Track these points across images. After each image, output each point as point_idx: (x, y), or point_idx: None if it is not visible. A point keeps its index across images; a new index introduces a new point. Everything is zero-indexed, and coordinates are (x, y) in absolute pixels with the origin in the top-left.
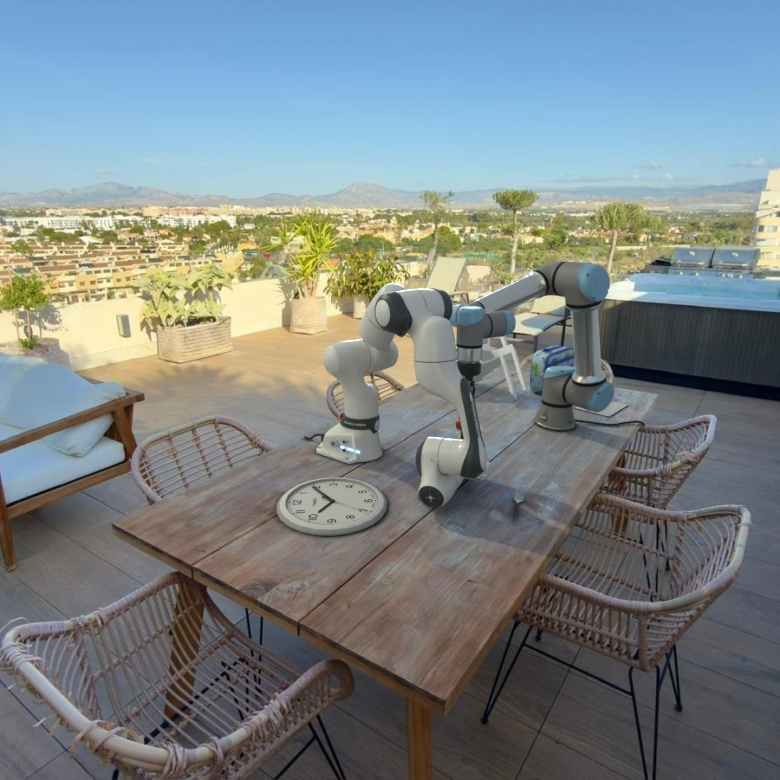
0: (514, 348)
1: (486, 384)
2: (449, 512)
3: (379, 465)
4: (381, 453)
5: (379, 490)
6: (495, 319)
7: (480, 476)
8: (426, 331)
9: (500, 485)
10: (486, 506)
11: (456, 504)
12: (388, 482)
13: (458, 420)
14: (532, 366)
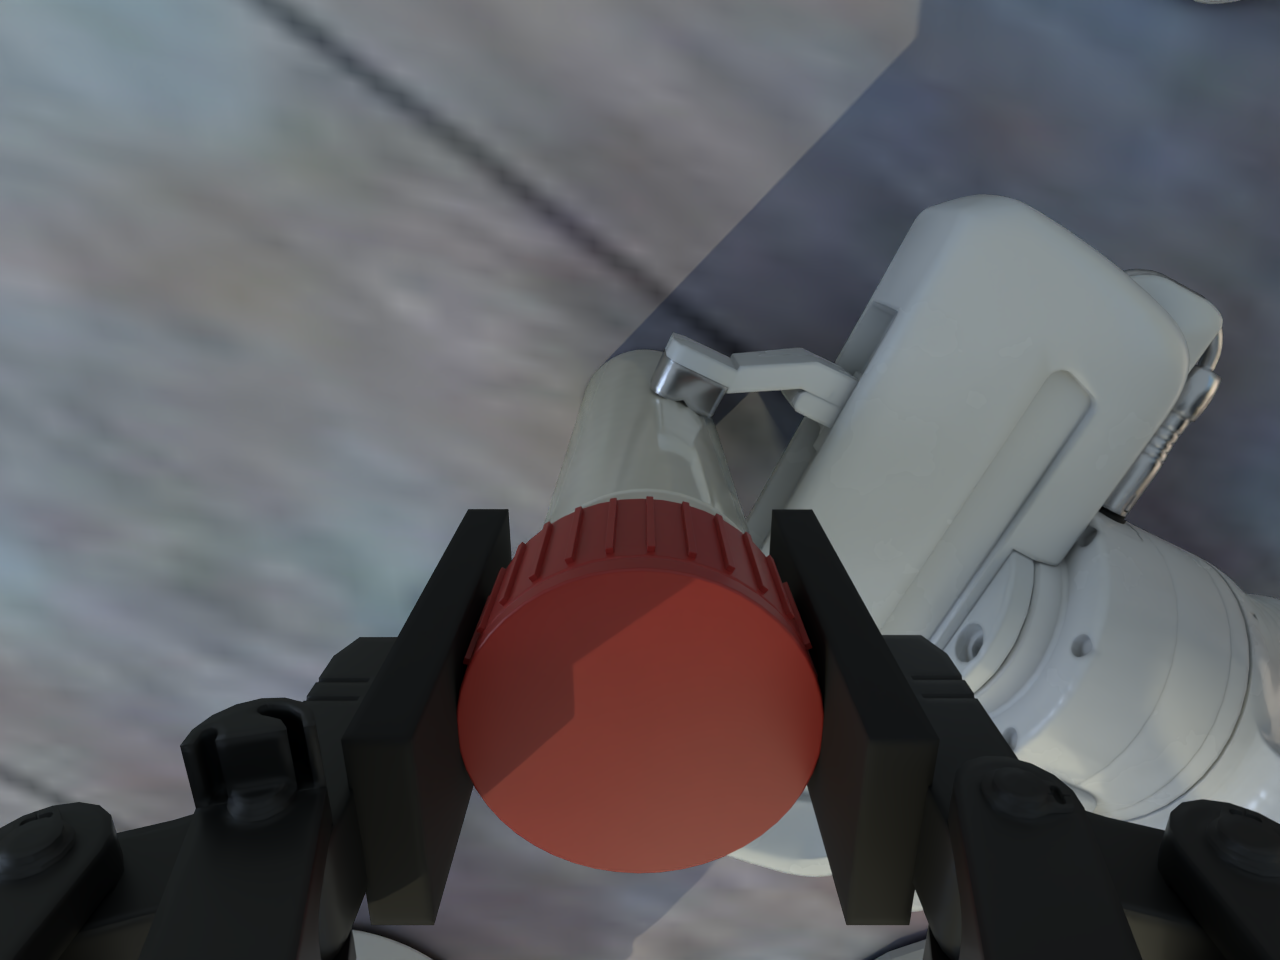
0: None
1: None
2: (1247, 581)
3: (523, 938)
4: (359, 944)
5: (918, 957)
6: None
7: (1192, 365)
8: None
9: (894, 75)
10: (1237, 297)
11: (1151, 520)
12: (776, 896)
13: (653, 844)
14: None
